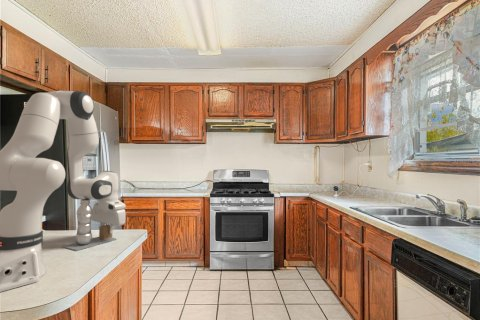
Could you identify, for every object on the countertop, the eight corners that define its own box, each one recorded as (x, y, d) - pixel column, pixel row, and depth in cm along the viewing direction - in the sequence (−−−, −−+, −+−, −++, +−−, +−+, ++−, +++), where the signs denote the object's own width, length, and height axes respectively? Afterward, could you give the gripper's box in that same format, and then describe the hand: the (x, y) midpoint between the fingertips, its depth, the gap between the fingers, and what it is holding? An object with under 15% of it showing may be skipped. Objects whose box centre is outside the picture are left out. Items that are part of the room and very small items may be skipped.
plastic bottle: (94, 242, 129) (96, 198, 129) (85, 246, 122) (87, 201, 122) (81, 241, 129) (83, 198, 129) (71, 245, 123) (73, 200, 122)
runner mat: (76, 251, 118) (77, 235, 118) (61, 247, 122) (62, 232, 122) (117, 239, 136) (117, 226, 136) (103, 236, 140) (103, 223, 140)
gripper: (88, 202, 139) (87, 230, 139) (117, 207, 130) (116, 236, 130) (99, 201, 144) (99, 227, 144) (128, 205, 135) (127, 233, 135)
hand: (107, 232), depth 137 cm, fingers open, 3 cm apart
